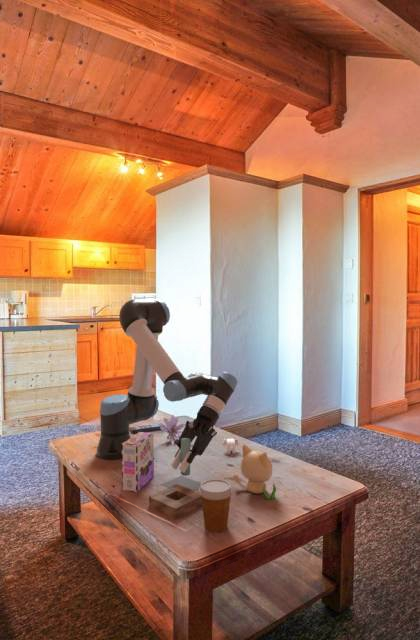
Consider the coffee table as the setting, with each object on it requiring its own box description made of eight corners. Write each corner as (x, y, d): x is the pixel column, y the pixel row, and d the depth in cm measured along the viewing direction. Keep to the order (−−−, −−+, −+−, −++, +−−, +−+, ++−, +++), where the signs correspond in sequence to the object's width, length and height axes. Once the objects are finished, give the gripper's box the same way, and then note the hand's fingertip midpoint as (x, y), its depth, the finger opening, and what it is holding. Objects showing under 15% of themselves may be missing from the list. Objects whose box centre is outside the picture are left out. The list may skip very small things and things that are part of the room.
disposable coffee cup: (198, 519, 129) (197, 479, 129) (230, 517, 130) (230, 477, 129) (200, 536, 120) (199, 493, 119) (234, 535, 121) (234, 492, 120)
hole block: (149, 507, 136) (148, 496, 136) (176, 494, 145) (176, 484, 145) (176, 520, 129) (176, 508, 128) (203, 505, 138) (203, 494, 137)
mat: (160, 485, 152) (160, 484, 152) (181, 476, 160) (181, 475, 160) (185, 496, 144) (185, 494, 144) (206, 486, 152) (206, 484, 152)
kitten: (284, 494, 145) (285, 450, 144) (264, 504, 138) (264, 457, 137) (251, 480, 156) (251, 439, 155) (231, 489, 149) (231, 445, 149)
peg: (178, 473, 151) (179, 439, 150) (185, 470, 153) (185, 437, 152) (185, 476, 149) (185, 441, 148) (192, 473, 151) (192, 439, 150)
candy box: (137, 493, 146) (136, 444, 145) (121, 491, 148) (120, 443, 147) (154, 477, 160) (154, 432, 159) (139, 475, 161) (139, 430, 160)
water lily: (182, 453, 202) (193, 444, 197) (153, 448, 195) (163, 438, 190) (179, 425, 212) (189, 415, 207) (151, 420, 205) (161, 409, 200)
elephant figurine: (238, 448, 188) (237, 435, 188) (239, 455, 180) (239, 441, 180) (222, 449, 188) (222, 435, 188) (223, 456, 180) (223, 441, 180)
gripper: (232, 421, 156) (200, 481, 145) (199, 412, 167) (166, 467, 155) (223, 409, 152) (189, 470, 140) (189, 400, 162) (155, 457, 151)
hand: (177, 469), depth 148 cm, fingers closed on peg, 3 cm apart
